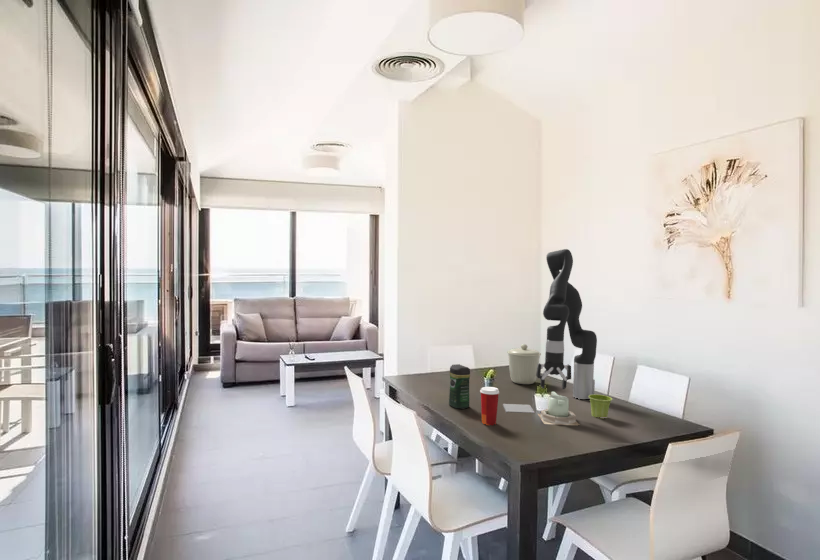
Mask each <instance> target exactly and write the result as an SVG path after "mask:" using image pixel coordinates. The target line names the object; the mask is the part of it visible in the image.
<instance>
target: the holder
mask: <svg viewBox="0 0 820 560" xmlns="http://www.w3.org/2000/svg"><path fill="white" fill-rule="evenodd" d="M537 415H538V417H539V419H540V420H541V421H542V423H543V424H544V425H555V426H557V425H558V426H559V425H560V426H578V425H580V423H578V421H577V415H576V414H575V413H574V411H570V410H568V417H555V416H551V415H548V408H545V409H543V410H540V413H537Z"/></svg>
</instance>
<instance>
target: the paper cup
mask: <svg viewBox="0 0 820 560" xmlns="http://www.w3.org/2000/svg"><path fill="white" fill-rule="evenodd" d="M479 392H480V410H481V423H483V424H482V425H484V424H486V425H485V426H490V425H491V426H495V425H496V424H497V416H498V405H499V404H498V403H499V395H500V391H499V388H497V387H494V386H484V387H483V386H482V387H481V388H480V390H479ZM494 424H495V425H494Z"/></svg>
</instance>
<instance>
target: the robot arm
mask: <svg viewBox="0 0 820 560" xmlns="http://www.w3.org/2000/svg"><path fill="white" fill-rule="evenodd" d="M546 262H547V263H546V264H547V267H548V269H549V272H550V274H551V277H552V279H553V281H552V282H551V284H550V288H549V294H548V295H549V296H548V299H547V302H546V303H545V306H544V308H543V313H542V315H543V317H544V319H545V320H547V321H555V322H556V321H558V322H559V323H558V324H555V325H550V326H548V327H547V329H546V341H545V353H544V354H545V357H544V363H540V362H539V363H538V364H537V373H536V376H537V379H540V384H539V385H540V387H541V388H542V389H545V383H546V380H545V379H546V378H547V377H548V376H549V375H551V376H552V375H555V376H558V375H560V377H561V379H562V380H561V389H562V390H565V389H566V388H567V381H568V380H569V381H570V380H572V366H571V364H570V363H569V364H566V365H565V364H564V362H565V361H564V357H565V342H564V341H565V340H564V339H565V330H566V329H565V328H566V325H567V328H568V333H569V338H570V342H571V344H572V345H573V346H574V347H575V348H579V349H582V350H581V353H580V354H576V355H575V356H574V357H573V358H574V359H573V383H572V384H573V385H572V397H573V398H574V397H575V398H574V399H576V398H578V399H577V400H580V399H590V398H589V395H595V389H596V388H595V386H596V385H595V384H596V381H595V378H594V377H595V376H594V372H595V371H594V370H595V360H596V356H597V346H598V345H597V344H598V337H597V333H596V332H595V331H592V330H588V329H583V328H582V326H581V322H580V315H581V313H582V310H583V301H582V299H581V295H580V293H579V291H578V289H576V287H575V286H574V285H572V284H571V283H570V282H569V280H570V276H571V272H572V268H573V265H574V258H573V254H572V251H570V249H567V248H564V249H560V250H559V249H558V250H554V251H551V252H548V253H547V254H546ZM543 368H544V369H545V370H544V371H543V373H541V372H542V369H543ZM564 369H565V370H566V375H565V374H564V373H563V370H564Z"/></svg>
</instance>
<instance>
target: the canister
mask: <svg viewBox="0 0 820 560" xmlns="http://www.w3.org/2000/svg"><path fill="white" fill-rule="evenodd" d="M541 355H542V352H539V351H538V350H536V349H534V348H533V349H532V348H528V345H527V344H525V343H522V344H521V345H520V347H518V348H517V347H516V348H512V349H509V350H507V356H508V367H509V377H510V380H511V381H512V382H513V383H514V384H517V385H519V384H520V385H532V384H534V383H535V382H536V381H537V379H538V377H537V376H536V373H537V364H538V363H540V356H541Z"/></svg>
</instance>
